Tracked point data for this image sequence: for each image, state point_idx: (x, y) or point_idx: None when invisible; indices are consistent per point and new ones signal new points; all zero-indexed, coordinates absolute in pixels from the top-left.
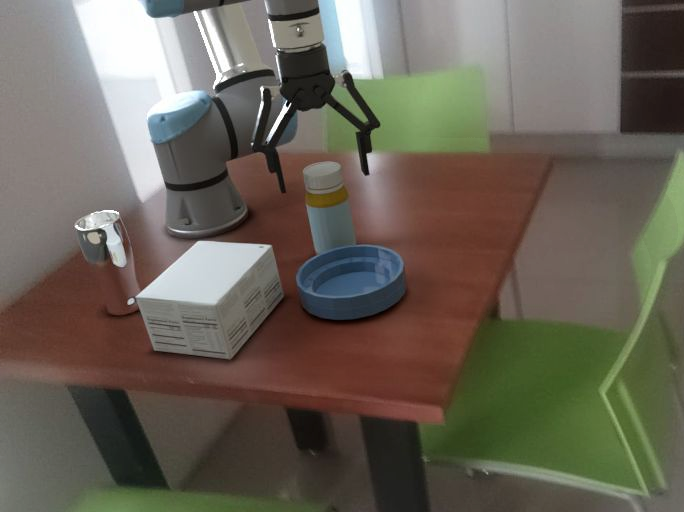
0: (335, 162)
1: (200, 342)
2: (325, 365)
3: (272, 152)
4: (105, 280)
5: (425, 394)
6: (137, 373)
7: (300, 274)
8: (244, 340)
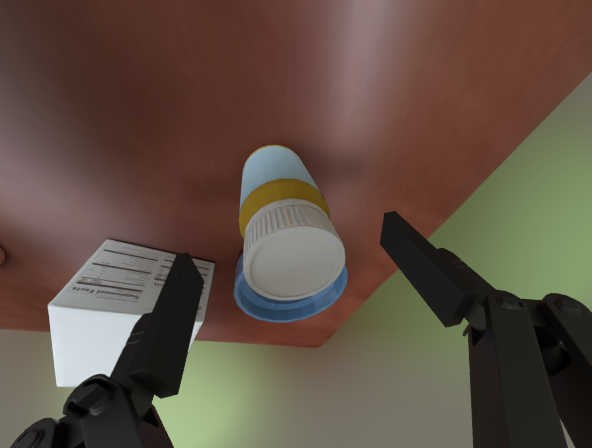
0: (338, 240)
1: None
2: (262, 329)
3: (151, 396)
4: None
5: (316, 344)
6: None
7: (238, 290)
8: None
